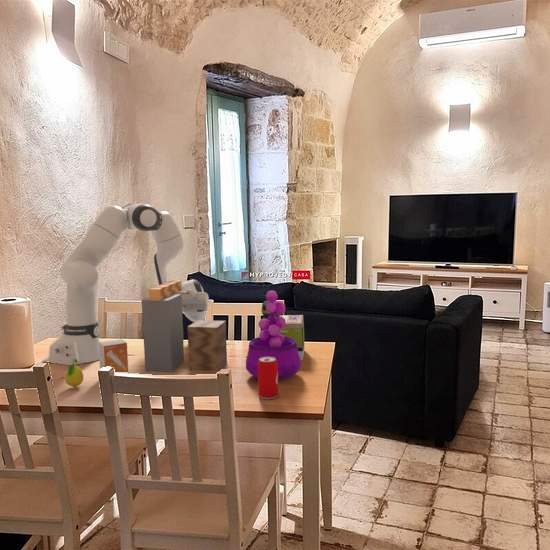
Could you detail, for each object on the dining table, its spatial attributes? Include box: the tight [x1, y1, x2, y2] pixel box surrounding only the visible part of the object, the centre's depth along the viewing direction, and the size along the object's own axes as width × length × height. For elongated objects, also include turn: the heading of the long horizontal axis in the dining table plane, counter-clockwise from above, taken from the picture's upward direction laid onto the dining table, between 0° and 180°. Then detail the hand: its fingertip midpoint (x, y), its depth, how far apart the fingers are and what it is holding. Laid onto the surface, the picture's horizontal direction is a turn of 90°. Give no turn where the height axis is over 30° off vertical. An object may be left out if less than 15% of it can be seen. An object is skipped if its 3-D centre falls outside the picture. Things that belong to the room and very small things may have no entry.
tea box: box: [279, 314, 305, 361], centre depth 209 cm, size 15×10×15 cm, turn 175°
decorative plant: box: [245, 290, 302, 381], centre depth 182 cm, size 19×18×30 cm
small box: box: [99, 338, 129, 373], centre depth 185 cm, size 8×6×13 cm
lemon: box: [64, 358, 84, 389], centre depth 177 cm, size 7×6×10 cm
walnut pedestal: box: [187, 319, 228, 372], centre depth 197 cm, size 11×11×16 cm
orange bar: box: [147, 279, 182, 301], centre depth 199 cm, size 22×4×4 cm, turn 169°
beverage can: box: [257, 357, 280, 400], centre depth 165 cm, size 6×6×12 cm
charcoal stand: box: [141, 294, 185, 373], centre depth 197 cm, size 13×10×26 cm
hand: (177, 291), depth 211 cm, fingers open, 8 cm apart
